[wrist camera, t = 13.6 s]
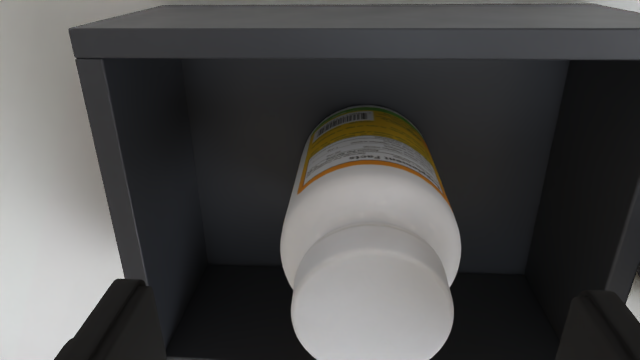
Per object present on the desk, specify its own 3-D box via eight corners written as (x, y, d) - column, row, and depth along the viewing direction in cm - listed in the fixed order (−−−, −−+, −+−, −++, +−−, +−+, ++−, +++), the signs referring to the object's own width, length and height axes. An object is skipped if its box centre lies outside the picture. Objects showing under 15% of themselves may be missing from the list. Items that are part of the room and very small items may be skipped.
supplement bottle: (388, 236, 22) (410, 425, 13) (282, 186, 21) (229, 351, 12) (453, 138, 19) (534, 286, 11) (337, 78, 19) (321, 185, 10)
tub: (161, 5, 19) (66, 28, 13) (593, 3, 18) (720, 28, 12) (199, 266, 24) (145, 372, 18) (532, 278, 23) (596, 394, 17)
